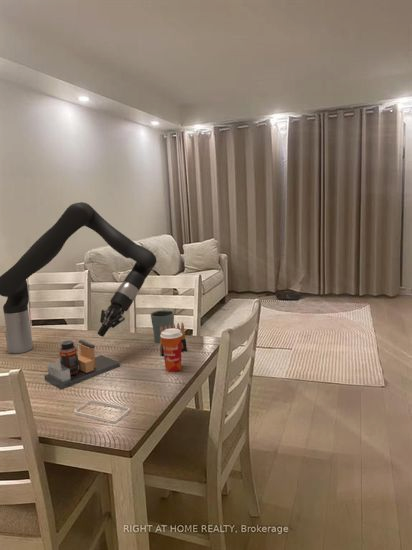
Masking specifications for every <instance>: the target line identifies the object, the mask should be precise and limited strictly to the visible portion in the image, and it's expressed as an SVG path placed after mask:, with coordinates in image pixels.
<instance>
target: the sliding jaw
mask: <svg viewBox="0 0 412 550" xmlns="http://www.w3.org/2000/svg"><path fill="white" fill-rule="evenodd" d="M78 343H79V346H80V347H79V350H80V353H78V361H79V370H81V371H83V372H85V373H88V372H90V371H93V370H94V367H96V363H95V357H96V355H95V347H96V346H95V344H92V343H90V342H87V341H85V340H83V339H79V340H78Z"/></svg>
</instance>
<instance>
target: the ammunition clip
mask: <svg viewBox="0 0 412 550" xmlns="http://www.w3.org/2000/svg"><path fill="white" fill-rule="evenodd" d="M173 328H175V329H179V330H180V331H181V333H182V336H181V353H184V352H183V351H185V352H187V351H188V348H187V340H186V332H185V325H184V322H183V321H182V322H181V324H180V323H179V322H177V324H175V323H174V324H173ZM165 329H167V327H166V325H165V328H164V330H165ZM169 329H171V325H170V324H169ZM162 331H163V328H162V326H161V327H160V335H161V332H162ZM159 355H160V356H161V357H163V358H164V353H163V346H162V338H161V336H160V343H159Z"/></svg>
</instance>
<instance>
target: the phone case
mask: <svg viewBox="0 0 412 550" xmlns="http://www.w3.org/2000/svg"><path fill="white" fill-rule="evenodd" d="M89 404H95V405H101V406H104V407H108V406H109V408H113V407H115V408H114V409H118V408H120V409H119V410H122V409H123V411H124V412H123V413H122V414H121V415H119V417H117V418H115V419H110V418H105V417H101V416H98V415H93V414H89V413H85V412H80V411H78V410H80V409H81V408H83V407H84V406H86V405H89ZM73 413H74V415H77V416H81V417H85V418H89V419H93V420H101V421H102V420H103V421H106V422H109V424H114V423H115V424H117V423H119V420H120V419H121V420H122V419H123V418H124V417H126V416H125V415H126V414H127V415H128V414H130V413H131V409H130V408H129V407H127V406H121V405H119V404H114V403H113V404H112V403H107V402H103V401H98V400H94V399H90V400H88V401H86V402H85V403H84V404H82V405H80V406H78V408H76V409H74V411H73ZM121 420H120V421H121Z"/></svg>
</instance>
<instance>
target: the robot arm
mask: <svg viewBox="0 0 412 550" xmlns="http://www.w3.org/2000/svg"><path fill="white" fill-rule="evenodd" d="M83 227H86V228H88V229H91V230H92V231H93V232H95V233H96V234H97V235H99V237H101V238H102V239H103V240H104V241H105V243H106V244H107V245H109V247H110V248H112V249H113V250H114V251H115V252H117V253H118V254H120V255H121V256H122V257H123V258H125V259H131V260H133V261H134V262H135V264H134V265H133V267H132V269H131V270H130V272H128V274H127V275H126V276H125V278H124V280H123V281H122V282H121V284H120V285H119V286H118V288H117V290H116V291H115V292H114V294H113V296H112V297H111V299H110V300H109V303H110V305H109V306H108V307H107V308H106V310H104V309H102V310H100V311H101V314H100V320H99V321H100V323H101V326H100V327H99V330H98V331H97V332H96V333H97V336H100V337H103V338H104V337H105V336H106V334H107V332H108V331H109V329H111V328H112V329H113V328H115V327H117V326H118V325H119V324H121V323H122V322H124V321H125V319H126V318H125V316H124V313H125V312H128V310H129V309H130V307H131V306H132V304H133V303H134V302H135V300H136V297H137V296H138V294H139V291H140V290H141V288H142V286H143V285H144V283H145V280H146V279H147V278H148V276H149V274H150V273H152V270H153V269H154V267H155V266H156V264H157V257H156V255H155V254H154V253H153V252H152V251H151V250H150V249H147V248H145V247H143V246H142V245H139V244H137V243H136V242H134V241H133V240H132V239H130V238H129V237H128V236H126V235H125V234H123V233H122V232H120V230H118V229H116V228H115V227H114V226H112V224H110V223H109V222H108V221H107V220H106V219H104V218H103V217H102V216H101V215H100V214H99V212H97V211H96V209H94V207H92V206H91V205H90V204H89V203H87V202H82V201H81V202H75V203H73V204H70V205H69V206H68V207H67V208H66V209H65V211H64V212H63V213H62V214H61V216H60V217H59V218H58V219H57V221H56V222H55V223H54V224H53V225H52V226H51V227H50V228H49V229H48V230H47V231H45V233H43V234H42V235H41V236H40V237H39V238H38V239H37V240H36V241H35V242H34V243H33V244H32V245H31V246H30V247H29V249H28V250H27V251H25V252H24V254H23V255H22V256H21V257H20V258H19V259H18V260H17V262H16V263H15V264H14V265H12V266H11V267H10V268H9V269H8V270H6V271H5V272H4V273H2V275H0V296H1V297H3V298H4V297H5V298H7V299H6V302H5V303H4V304H3V307H2V309H3V316H4V324H5V331H4V334H5V341H6V342H5V343H6V348H7V353H8V354H22V353H27V352H29V351H32V350H33V349H34V343H33V337H32V335H33V334H32V328H31V322H30V321H31V320H30V315H29V314H30V313H29V301H30V300H29V299H30V297H29V287H28V281H27V279H29V278H30V277H31V276H32V275H34V274H35V273H37V272H38V271H40V270H41V269H43V268H44V267H46V266H47V265H48V264H50V263H51V261H53V259H54V258H56V256H58V255H59V253H60V252H61V250H62V249H63V247H64V246H65V244H66V243H67V240H69V238H70V237H71V236H73V235H74V234H75V233H76V232H77V231H78V230H79V229H81V228H83Z"/></svg>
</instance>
